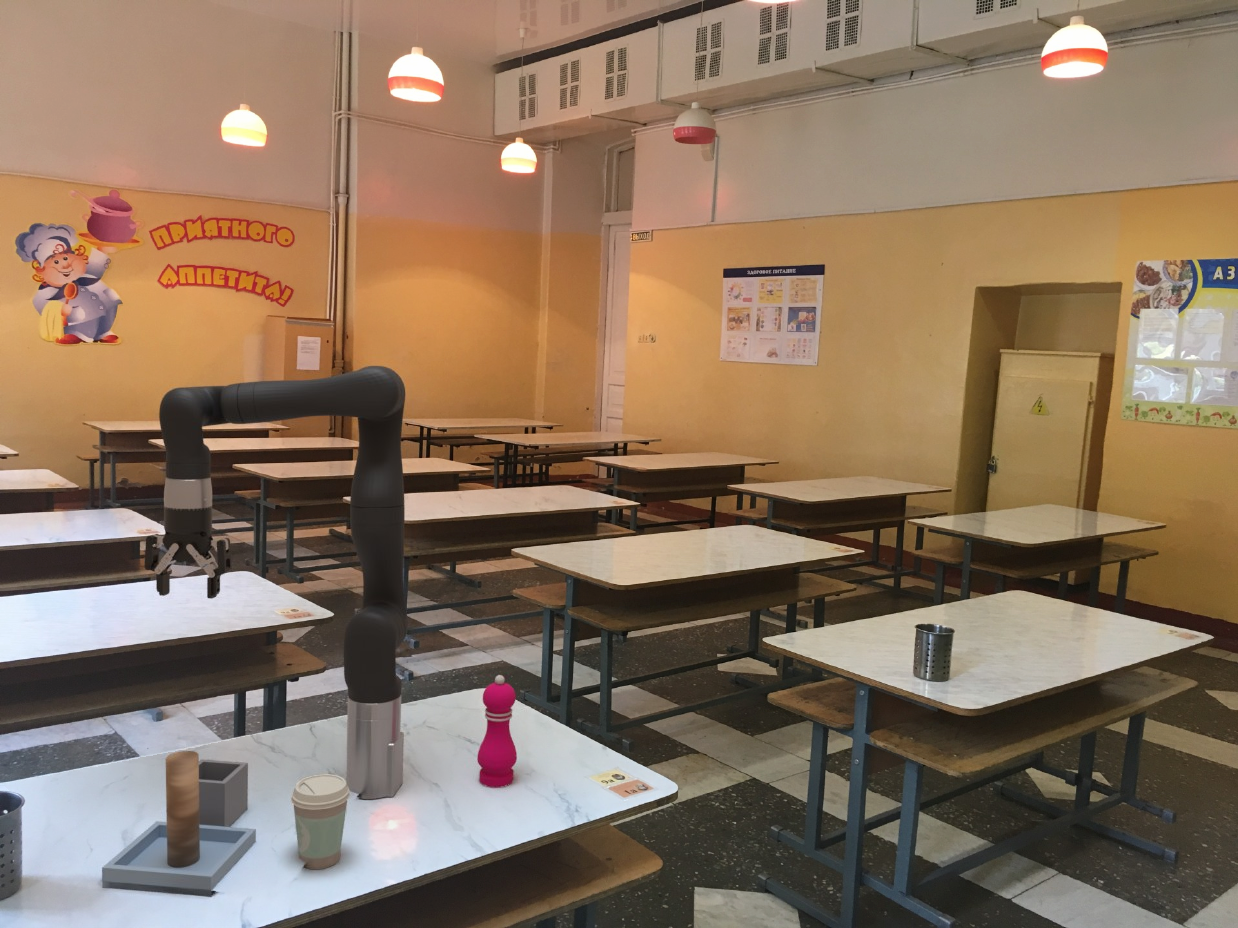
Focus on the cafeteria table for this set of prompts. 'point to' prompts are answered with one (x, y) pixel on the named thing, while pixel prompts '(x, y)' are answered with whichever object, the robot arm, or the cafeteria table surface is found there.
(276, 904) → the cafeteria table surface
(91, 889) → the cafeteria table surface
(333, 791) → the coffee cup
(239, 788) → the grey square frame
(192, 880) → the tray
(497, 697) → the pepper mill
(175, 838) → the walnut peg
